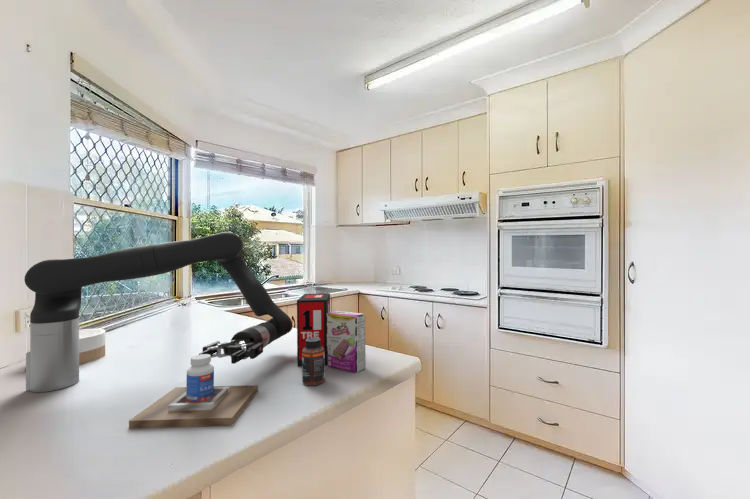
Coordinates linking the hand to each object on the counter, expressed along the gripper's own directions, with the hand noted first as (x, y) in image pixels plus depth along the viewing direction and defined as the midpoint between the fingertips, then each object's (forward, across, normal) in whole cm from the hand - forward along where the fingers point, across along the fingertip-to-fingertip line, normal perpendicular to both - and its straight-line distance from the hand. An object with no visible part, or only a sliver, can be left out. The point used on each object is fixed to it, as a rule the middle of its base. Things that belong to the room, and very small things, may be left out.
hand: (216, 358), depth 78 cm
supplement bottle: (-12, +20, +9) cm, 25 cm away
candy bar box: (-22, +26, +9) cm, 36 cm away
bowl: (-20, -66, +9) cm, 69 cm away
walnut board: (+5, 0, +9) cm, 11 cm away
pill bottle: (+5, 0, +8) cm, 9 cm away
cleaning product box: (-31, +14, +9) cm, 36 cm away
